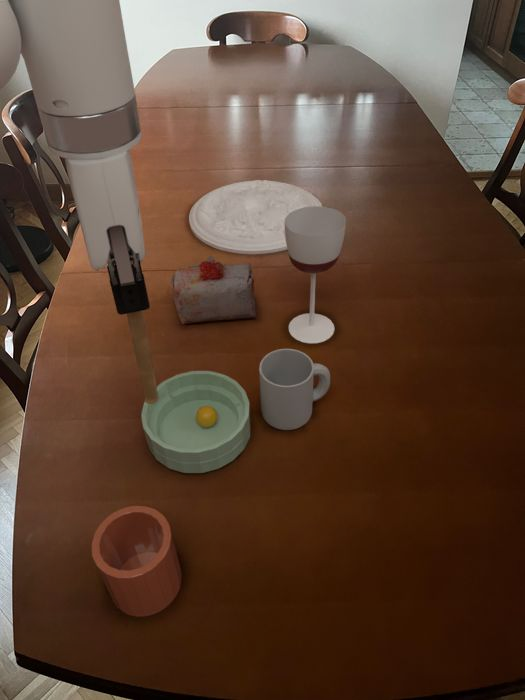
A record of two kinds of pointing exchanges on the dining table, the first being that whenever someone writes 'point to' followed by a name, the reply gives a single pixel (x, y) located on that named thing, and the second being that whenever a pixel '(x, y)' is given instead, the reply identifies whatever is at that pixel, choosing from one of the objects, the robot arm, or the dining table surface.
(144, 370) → the stirring stick
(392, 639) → the dining table surface
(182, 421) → the bowl
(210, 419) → the ball
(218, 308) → the food item
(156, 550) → the utensil pot
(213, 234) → the ceiling medallion
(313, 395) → the cup
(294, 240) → the wineglass
